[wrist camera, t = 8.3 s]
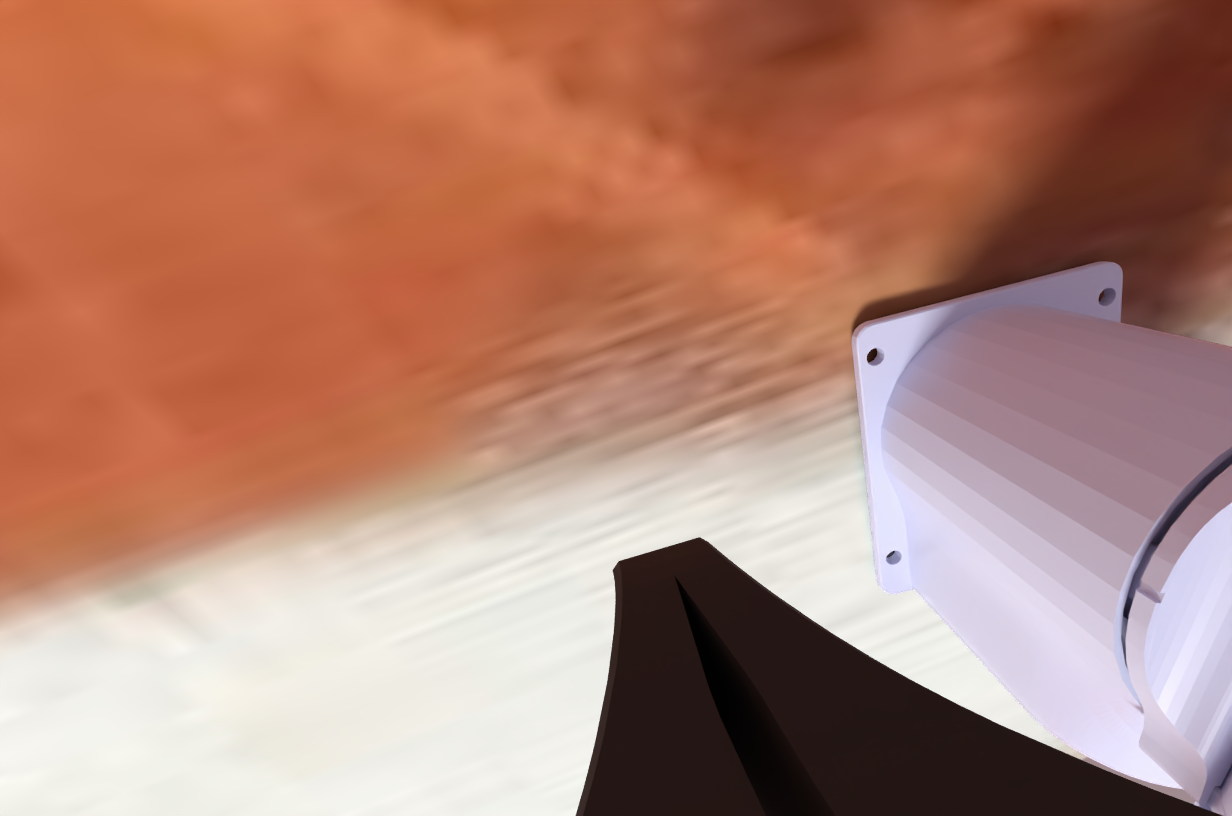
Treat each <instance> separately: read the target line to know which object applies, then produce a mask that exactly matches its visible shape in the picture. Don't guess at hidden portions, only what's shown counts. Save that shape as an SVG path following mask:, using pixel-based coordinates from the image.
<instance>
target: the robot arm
mask: <svg viewBox="0 0 1232 816" xmlns="http://www.w3.org/2000/svg"><path fill="white" fill-rule="evenodd" d="M1122 285H1123V272H1122V269H1121V267H1120V266H1119V265H1118V264H1116V263H1114V262H1106V261H1101V262H1095V263H1091V264H1087V265H1083V266H1080V267H1076V268H1072V269H1068V270H1064V271H1060V272H1056V273H1052V274H1048V275H1045V276H1041V277H1037V278H1033V279H1029V280H1025V281H1021V282H1017V283H1014V284H1010V285H1006V286H1002V287H998V288H994V289H990V290H986V291H982V292H979V293H975V294H971V295H967V296H963V297H959V298H955V299H951V300H948V301H944V302H940V303H936V304H932V305H928V306H924V307H920V308H916V309H913V310H909V311H905V312H901V313H897V314H893V315H889V316H885V317H882V318H878V319H874V320H870V321H866V322H864V323H862V324H860V325H859V326H858V327H857V328H856V329H855V331H854V333H853V335H852V351H853V361H854V370H855V380H856V389H857V399H858V409H859V418H860V428H861V437H862V447H863V456H864V466H865V475H866V485H867V494H868V504H869V513H870V523H871V533H872V542H873V552H874V561H875V571H876V580H877V583H878V585H879V586H880V587H881V589H882V590H883V591H884V592H886V593H888V594H898V593H902V592H905V591H909V590H913V589H914V590H915V591H916V592H917V593H918V594H919V595H920V596H921V597H922V599H923V600H924V601H925V602H926V603H927V604H928V605H929V606H930V607H931V608H932V609H933V610H934V612H935V613H936V614H937V615H938V616H939V617H940V618H941V619H942V620H943V621H944V622H945V623H946V625H947V626H948V627H949V628H950V629H951V630H952V631H953V632H954V633H955V634H956V635H957V636H958V638H959V639H960V640H961V641H962V642H963V643H964V644H965V645H966V646H967V647H968V648H969V649H970V650H971V652H972V653H973V654H974V655H975V656H976V657H977V658H978V659H979V660H980V661H981V662H982V663H983V665H984V666H985V667H986V668H987V669H988V670H989V671H990V672H991V673H992V674H993V675H994V676H995V678H996V679H997V680H998V681H999V682H1000V683H1001V684H1002V685H1003V686H1004V687H1005V688H1006V689H1007V691H1008V692H1009V693H1010V694H1011V695H1012V696H1013V697H1014V698H1015V699H1016V700H1017V701H1018V702H1019V704H1020V705H1021V706H1022V707H1023V708H1024V709H1025V710H1026V711H1027V712H1028V713H1029V714H1030V715H1031V716H1032V717H1033V718H1034V719H1035V720H1036V721H1037V722H1038V723H1039V724H1040V725H1042V726H1043V727H1044V728H1045V729H1046V730H1047V731H1049V732H1050V733H1051V734H1053V735H1054V736H1055V737H1057V738H1058V739H1059V740H1061V741H1062V742H1064V743H1065V744H1067V745H1068V746H1070V747H1072V748H1073V749H1075V750H1077V751H1078V752H1080V753H1082V754H1083V755H1085V756H1087V757H1089V758H1091V759H1093V760H1095V761H1097V762H1099V763H1101V764H1103V765H1105V766H1108V767H1110V768H1112V769H1114V770H1116V771H1119V772H1121V773H1123V774H1126V775H1129V776H1131V777H1134V778H1137V779H1140V780H1143V781H1147V782H1150V783H1154V784H1158V785H1163V786H1167V787H1173V788H1180V789H1184V790H1185V791H1186V792H1187V793H1188V794H1189V795H1190V796H1191V797H1192V798H1193V799H1194V800H1196V801H1195V803H1194V805H1193V804H1190V803H1188V802H1185V801H1182V800H1180V799H1177V798H1174V797H1172V796H1169V795H1166V794H1164V793H1161V792H1158V791H1156V790H1153V789H1150V788H1148V787H1146V786H1143V785H1141V784H1138V783H1136V782H1133V781H1131V780H1128V779H1126V778H1123V777H1121V776H1118V775H1116V774H1113V773H1111V772H1108V771H1106V770H1103V769H1101V768H1099V767H1096V766H1094V765H1092V764H1089V763H1087V762H1084V761H1082V760H1080V759H1078V758H1075V757H1073V756H1071V755H1069V754H1066V753H1064V752H1062V751H1059V750H1057V749H1055V748H1052V747H1050V746H1048V745H1045V744H1043V743H1041V742H1038V741H1036V740H1034V739H1031V738H1029V737H1027V736H1024V735H1022V734H1020V733H1017V732H1015V731H1013V730H1011V729H1008V728H1006V727H1004V726H1001V725H999V724H997V723H995V722H993V721H991V720H989V719H987V718H985V717H983V716H981V715H978V714H976V713H974V712H972V711H970V710H968V709H966V708H964V707H962V706H960V705H958V704H956V703H954V702H952V701H950V700H948V699H946V698H944V697H942V696H941V695H939V694H937V693H935V692H933V691H931V690H929V689H927V688H925V687H923V686H921V685H919V684H917V683H916V682H914V681H912V680H910V679H908V678H907V677H905V676H903V675H901V674H899V673H898V672H896V671H894V670H892V669H890V668H889V667H887V666H885V665H884V664H882V663H880V662H878V661H877V660H875V659H873V658H871V657H870V656H868V655H866V654H865V653H863V652H862V651H860V650H858V649H857V648H855V647H853V646H852V645H850V644H848V643H847V642H845V641H844V640H842V639H840V638H839V637H837V636H835V635H834V634H832V633H831V632H829V631H828V630H826V629H825V628H823V627H822V626H820V625H819V624H817V623H815V622H814V621H812V620H811V619H809V618H808V617H807V616H805V615H804V614H802V613H801V612H799V611H798V610H796V609H795V608H794V607H792V606H791V605H789V604H788V603H786V602H785V601H783V600H782V599H781V598H779V597H778V596H776V595H775V594H774V593H772V592H771V591H769V590H768V589H767V588H765V587H764V586H763V585H761V584H760V583H759V582H757V581H756V580H755V579H753V578H752V577H751V576H749V575H748V574H747V573H746V572H744V571H743V570H742V569H740V568H739V567H738V566H737V565H735V564H734V563H733V562H732V561H730V560H729V559H728V558H727V557H725V556H724V555H723V554H722V553H721V552H719V551H718V550H717V549H716V548H715V547H713V546H712V545H711V544H710V543H709V542H707V541H705V540H704V539H702V538H700V537H699V538H696V539H692V540H689V541H685V542H682V543H679V544H675V545H672V546H669V547H665V548H662V549H658V550H655V551H652V552H648V553H645V554H642V555H638V556H635V557H632V558H628V559H625V560H621V561H619V562H618V563H617V565H616V566H615V568H614V569H613V574H614V579H615V592H616V604H615V623H614V635H613V643H612V651H611V659H610V667H609V674H608V681H607V686H606V691H605V696H604V701H603V706H602V711H601V716H600V721H599V726H598V732H597V737H596V741H595V745H594V749H593V754H592V758H591V762H590V766H589V770H588V774H587V777H586V781H585V785H584V789H583V792H582V796H581V799H580V803H579V806H578V810H577V813H576V816H1232V347H1230V346H1226V345H1221V344H1217V343H1212V342H1207V341H1203V340H1198V339H1194V338H1189V337H1185V336H1180V335H1175V334H1171V333H1166V332H1162V331H1157V330H1153V329H1148V328H1143V327H1139V326H1134V325H1130V324H1125V323H1121V304H1122ZM1103 290H1104V296H1103V298H1102V299H1101V301H1100V302H1099V300H1098V299H1099V295H1100V293H1101V292H1102V291H1103ZM874 348H876V349H877V351H878V352H877V356H876V358H875V359H874V360H873V361H871V362H867V354H868V353H869V352H870V350H872V349H874ZM892 551H895V553H894V554H893V555H892V556H891V557H889V558H886V557H887V555H888V554H889V553H890V552H892Z"/></svg>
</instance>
